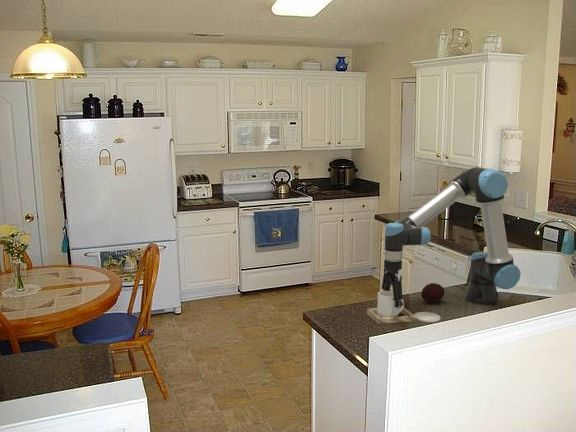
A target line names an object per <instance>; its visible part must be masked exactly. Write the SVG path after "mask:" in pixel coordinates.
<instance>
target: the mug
mask: <svg viewBox="0 0 576 432" xmlns="http://www.w3.org/2000/svg"><path fill="white" fill-rule="evenodd" d="M393 299H394V295H393V290H391V291H383V290H380V291H378V292H377V307H376V308H377V314H376V315H378V316H379V317H380V318H386V317H398V314H396V315H393V314H392V311H393ZM400 302H402V308H401V309H399V314H400V313H401V311H402V309H403V307H404V308H405V301H404V299H403V298H402V300H400Z"/></svg>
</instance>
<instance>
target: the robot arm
mask: <svg viewBox="0 0 576 432" xmlns="http://www.w3.org/2000/svg"><path fill="white" fill-rule="evenodd" d="M507 190H508V179H507V177H506V175H505V174H504V173H503V172H501V171H499V170H498V169H497V170H496V169H495V168H494V169H493V168H484V167H478V166H477V167H476V166H475V167H472V168H468V169H467V170H464V171H463V172H461V173H460V174H458V175H457V176H456V177H455V178H453V179H452V180H450V181H449V185H448V186H446V187H445V188H444V189H443V190H440V191H439V192H438V193H437V194H436V195H435V196H433V197H432V198H430V199H429V200H428V201H426V202H425V203H424V204H422V205H421V206H420V207H419V208H417V209H416V210H415V211H413V212H411V214H409V215H408V216H407V217H405V218H404V219H403V220H397V221H395V222H389V223H387V224H386V225H385V230H384V251H383V256H384V259H383V275H382V283H381V289H382V291H393V295H394V299H393V311H392V314H393V315H396V314H397V315H400V313H399V307H400V305H401V304H400V302H401V300H402V299H403V286H402V285H403V284H402V282H403V281H402V279H403V276H402V275H399V271H401V269H402V267H403V253H404V252H403V247H404V246H424V245H426V246H427V245H428V244H429V243H430V242H431V240H432V239H431V237H432V235H431V231H430V228H428V227H425V225H426V224H427V223H429V222H431V221H432V220H433V219H434V218H436V217H437V216H438V215H440V214H441V213H442V212H444V211H445V210H446V209H447V208H450V207H451V205H453V204H454V203H455V202H458V200H459V199H465V198H467V196H470V195H472V194H474V196H475V201H476V202H475V203H477V204H478V205H480V211H481V217H482V218H481V219H482V223H483V224H482V225H483V229H484V230H483V231H484V238H485V242H486V243H485V244H486V249H487V251H478V252H476V251H475V252H473V253H472V254H471V257H470V269H469V270H470V273H469V275H470V276H469V283H468V285H467V288H466V290H465V293H464V299H465V300H466V301H468V302H470V303H472V304H478V305H486V306H487V305H488V306H489V305H490V304H491V305H495V304H498V303H499V302H500V301H499V299H500V298H499V293H498V290H497V288H499V289H503V290H510V289H511V288H512V289H513V288H514V287H516V285H517V284H518V282H519V281H520V279H521V270H520V268H519V267H518V266H517V265H515V261H514V256H513V255H512V254H510V253H509V247H508V239H507V232H506V227H505V219H504V213H503V206H502V205H503V204H502V201H503V200H504V199H505V194H506V191H507ZM391 287H392V290H391Z"/></svg>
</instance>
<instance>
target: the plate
mask: <svg viewBox="0 0 576 432" xmlns="http://www.w3.org/2000/svg"><path fill="white" fill-rule="evenodd" d="M413 315H415V316H416V321H419V322H423V323H430V324H431V323H437V322H440V321H441V316H440V315H439V314H437V313H434V312H429V311H419V312H415V313H413Z"/></svg>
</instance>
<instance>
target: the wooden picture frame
mask: <svg viewBox="0 0 576 432" xmlns="http://www.w3.org/2000/svg"><path fill="white" fill-rule="evenodd" d="M402 306H403V305H402ZM402 306H399V309H401V308H402ZM400 313H401V314H403V315H401V316H400V315H399V316H397V317H386V318H380V317H379V316H378V315H377V307H374V308H372V307H371V308H366V314H367V315H368V317H370V318H371V319H372V320H373V321H374V322H376V324H377V325H378V324H379V325H381V324H394V323H396V324H397V323H407V322H408V323H409V322H410V323H411V322H416V321H417V320H416V316H415V315H414V313H412V312H411V311H409V310H408V309H407V308H405V306H404V307H403V309H402V311H401V312H400Z"/></svg>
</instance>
